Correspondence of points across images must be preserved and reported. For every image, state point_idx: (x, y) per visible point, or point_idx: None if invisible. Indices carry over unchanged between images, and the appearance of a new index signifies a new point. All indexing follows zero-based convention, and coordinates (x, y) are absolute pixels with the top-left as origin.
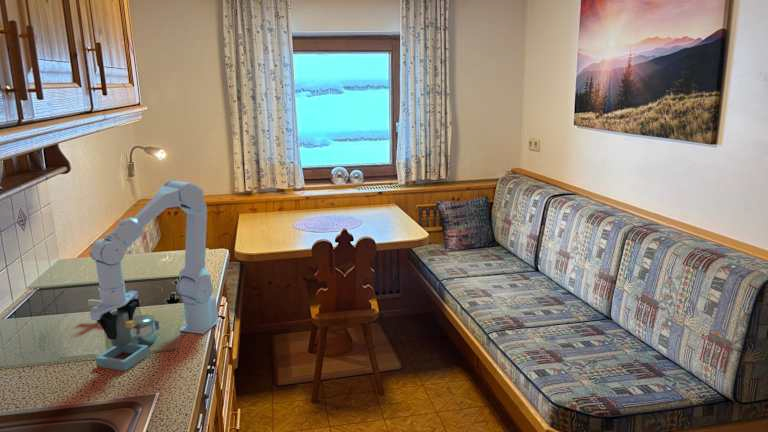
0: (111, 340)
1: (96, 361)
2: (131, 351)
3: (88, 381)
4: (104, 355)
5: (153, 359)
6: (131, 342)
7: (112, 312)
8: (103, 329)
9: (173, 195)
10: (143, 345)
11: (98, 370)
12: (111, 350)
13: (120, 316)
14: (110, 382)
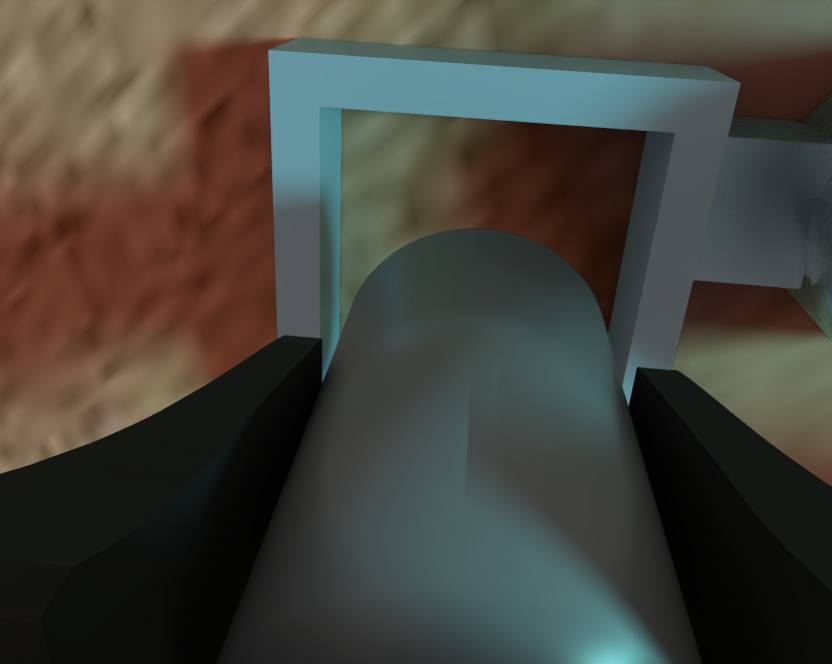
0: (345, 324)
1: (282, 45)
2: (629, 248)
3: (45, 165)
4: (363, 109)
5: None
6: (717, 246)
7: (514, 637)
8: (179, 402)
9: None
10: None
11: (236, 115)
12: (488, 118)
13: None
14: (115, 367)
